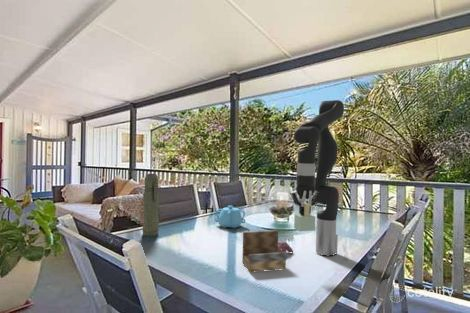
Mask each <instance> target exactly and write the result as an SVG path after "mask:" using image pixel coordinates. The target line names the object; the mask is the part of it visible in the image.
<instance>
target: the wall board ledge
mask: <svg viewBox="0 0 470 313" xmlns="http://www.w3.org/2000/svg"><path fill="white" fill-rule="evenodd" d="M278 243H279V230H276V229H275V230H256V231H255V230H254V231H253V230H252V231H243V232H242V260H241V261H242V263H243V264H244V265H245V266H244V265H243V264H242V265H243V266H244V268H245V267H246V268H247V269H248V270H247V269H246V268H245V269H246V270H247V271H248V272H250V273H255V272H254V271H262V272H265V271H264V270H273V271H276V270H275V269H284V270H286V268H287V267H286V266H287V265H286V263H287V262H286V261H287V251H286V252H278Z"/></svg>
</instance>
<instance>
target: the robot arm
mask: <svg viewBox="0 0 470 313" xmlns="http://www.w3.org/2000/svg"><path fill="white" fill-rule="evenodd" d="M344 106H345V105H344V103H343V101H342V100H339V99H338V100H337V99H333V100H322V101H321V102H320V104H319V106H318V107H319V108H318V114H317V115H316V116H314V117H312V118H311V119H310V120H309V121H308V122H305V123H303V124H300V125H299V126H298V127H297V128H295V130H294V132H293V139H294V141H295V142H296V143H298V144H307V147H305V148H302V149H299V150H298V151H297V165H296V183H295V184H296V188H295V190H294V191H290V192H289V194H290V197H291V200H292V201H293V203H294V204H295V205H297V206H299V208H298V214H300V215H302V216H304V203H308V204H310V212H309V215H310V214H311V211H312V210H311V209H312V208H311V207H312V206H315V205H316V204H319V205H325V209H324V210H320V211H319V210H318V211H317V213H316V227H315V231H316V233H315V235H316V236H315V237H316V238H315V253H316V252H317V253H318V254H317V253H316V254H317V255H319V254H322V255H333V254H335V253H337V254H338V240H339V237H338V234H337V216H338V212H339V201H340V200H339V199H340V197H339V196H340V194H339V193H340V192H339V189H338V188H337V187H335V186H331V185H327V184H326V183H327V177H328V175H329V173H330V172H331V170H332V169H333V167H334V166H335V164H336V163H337V159H338V148H339V147H338V144H337V142H336V140H335V138H334V137H333V135H332V133H331V131H330V129H329V125H331V124H333V123H335V122H336V121H338V120H339V119H341V118H342V117H343V115H344V112H345V107H344ZM316 151H317V162H316V161H315V160H316V157H315V156H316ZM316 163H317V166H316ZM297 196H298V197H297ZM322 255H321V256H322Z"/></svg>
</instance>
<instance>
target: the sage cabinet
mask: <svg viewBox="0 0 470 313" xmlns="http://www.w3.org/2000/svg"><path fill="white" fill-rule="evenodd" d="M309 212H310V204H308V203H306V202H304V216H302V215H300V214H299V213H296V214H295V213H294V222H293V224H294V226H293V228H294V229H295V230H296V231H297V232H312V231H314V232H315V231H316V216H315V215H313V214H311V213H310V215H309Z"/></svg>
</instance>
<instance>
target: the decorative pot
mask: <svg viewBox="0 0 470 313" xmlns="http://www.w3.org/2000/svg"><path fill="white" fill-rule="evenodd" d="M218 211H220V212H219V214H218ZM241 212H242V214H243V215H242V214H241ZM215 215H216V218H214V221H215V222H217V223H218V224H219V226H220V227H222V229H223V228H224V229H226V228H231V229H237V228H238V227H240V226H241V225H242V224H245V223H246V219H245V215H246V212H245V211H244V210H243V209H239V208H237V207H234V206H233V205H227V207H223V208H217V209H216V210H215Z"/></svg>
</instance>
